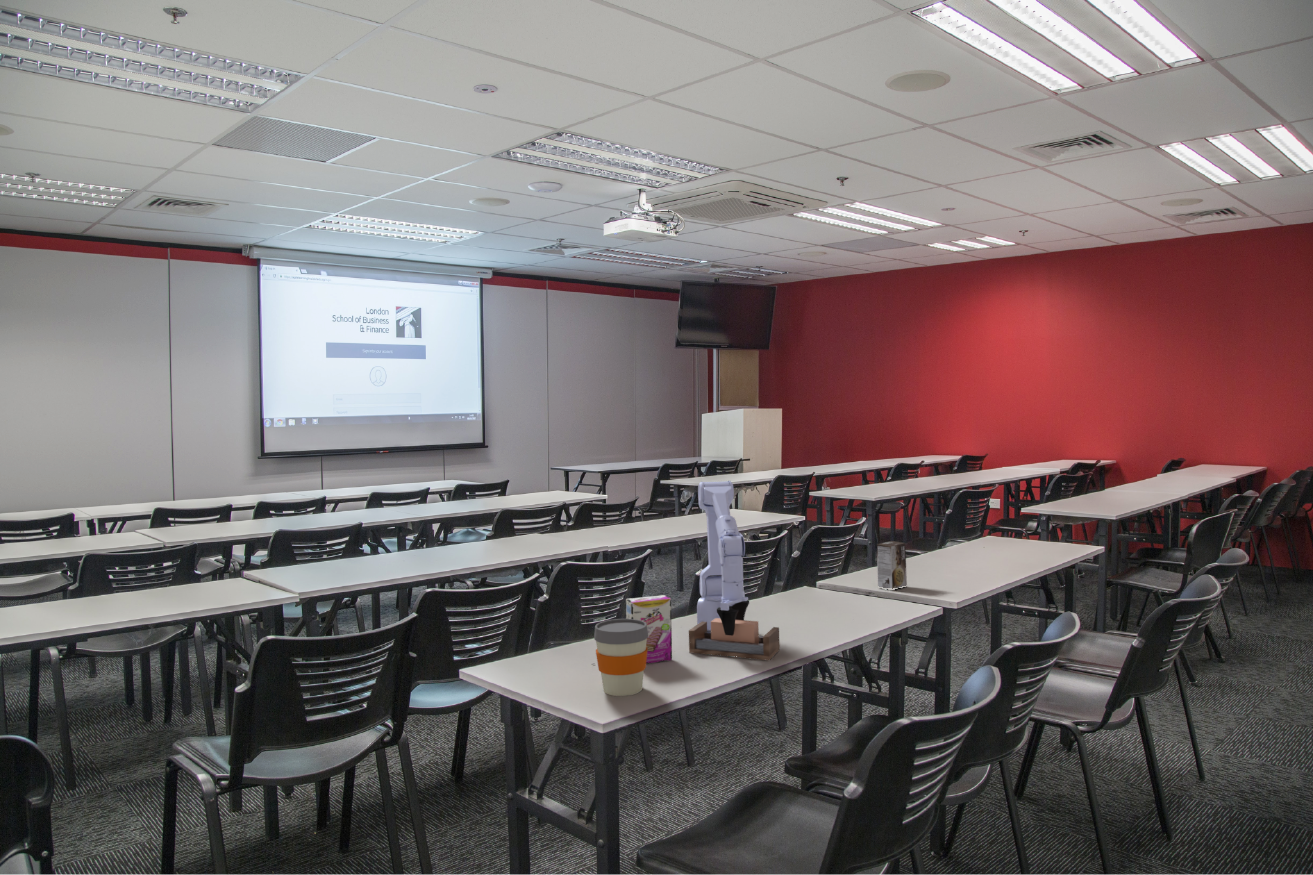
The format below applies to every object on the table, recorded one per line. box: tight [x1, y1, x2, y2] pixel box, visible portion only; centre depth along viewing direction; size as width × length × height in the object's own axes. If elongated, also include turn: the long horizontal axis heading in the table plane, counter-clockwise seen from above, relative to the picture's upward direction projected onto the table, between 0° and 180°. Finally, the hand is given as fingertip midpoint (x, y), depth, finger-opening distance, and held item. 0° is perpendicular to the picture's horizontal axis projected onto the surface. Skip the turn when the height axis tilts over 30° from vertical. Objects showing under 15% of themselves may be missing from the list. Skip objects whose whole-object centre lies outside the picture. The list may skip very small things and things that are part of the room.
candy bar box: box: [625, 594, 673, 665], centre depth 206 cm, size 11×5×16 cm, turn 111°
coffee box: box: [876, 540, 908, 589], centre depth 285 cm, size 9×6×16 cm
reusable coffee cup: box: [593, 618, 648, 697], centre depth 184 cm, size 13×13×15 cm
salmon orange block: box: [710, 618, 760, 643], centre depth 212 cm, size 12×4×7 cm, turn 66°
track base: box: [688, 621, 781, 661], centre depth 212 cm, size 22×10×6 cm, turn 66°
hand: (733, 631), depth 212 cm, fingers open, 7 cm apart
